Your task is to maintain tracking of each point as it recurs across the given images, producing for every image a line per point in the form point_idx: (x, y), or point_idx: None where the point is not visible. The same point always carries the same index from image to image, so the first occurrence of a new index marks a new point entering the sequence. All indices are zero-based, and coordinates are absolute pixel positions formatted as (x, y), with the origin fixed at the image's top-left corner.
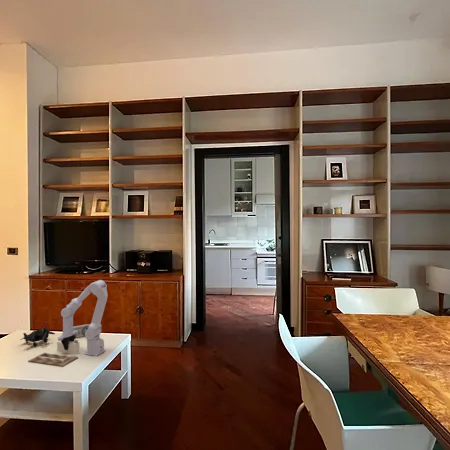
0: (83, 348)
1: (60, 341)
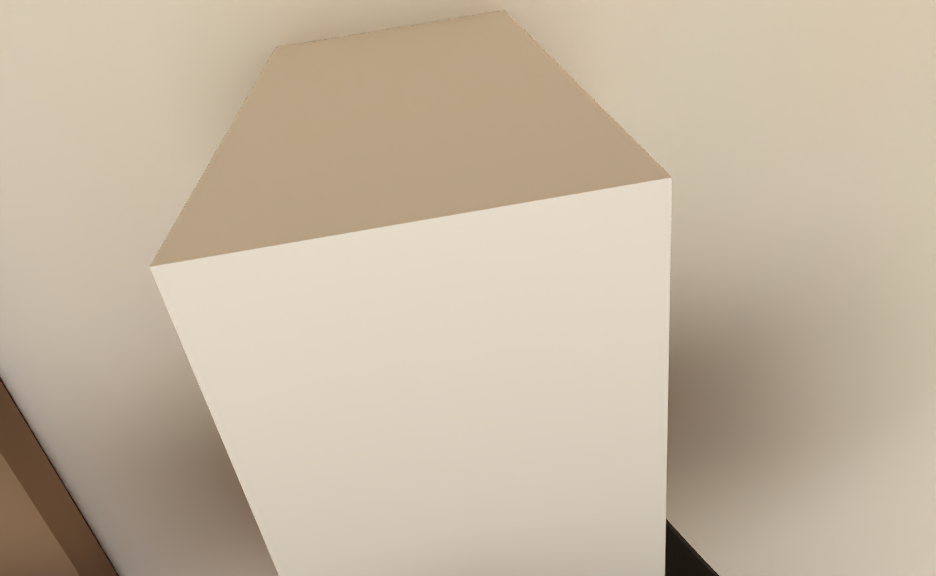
0: (813, 551)
1: (402, 427)
